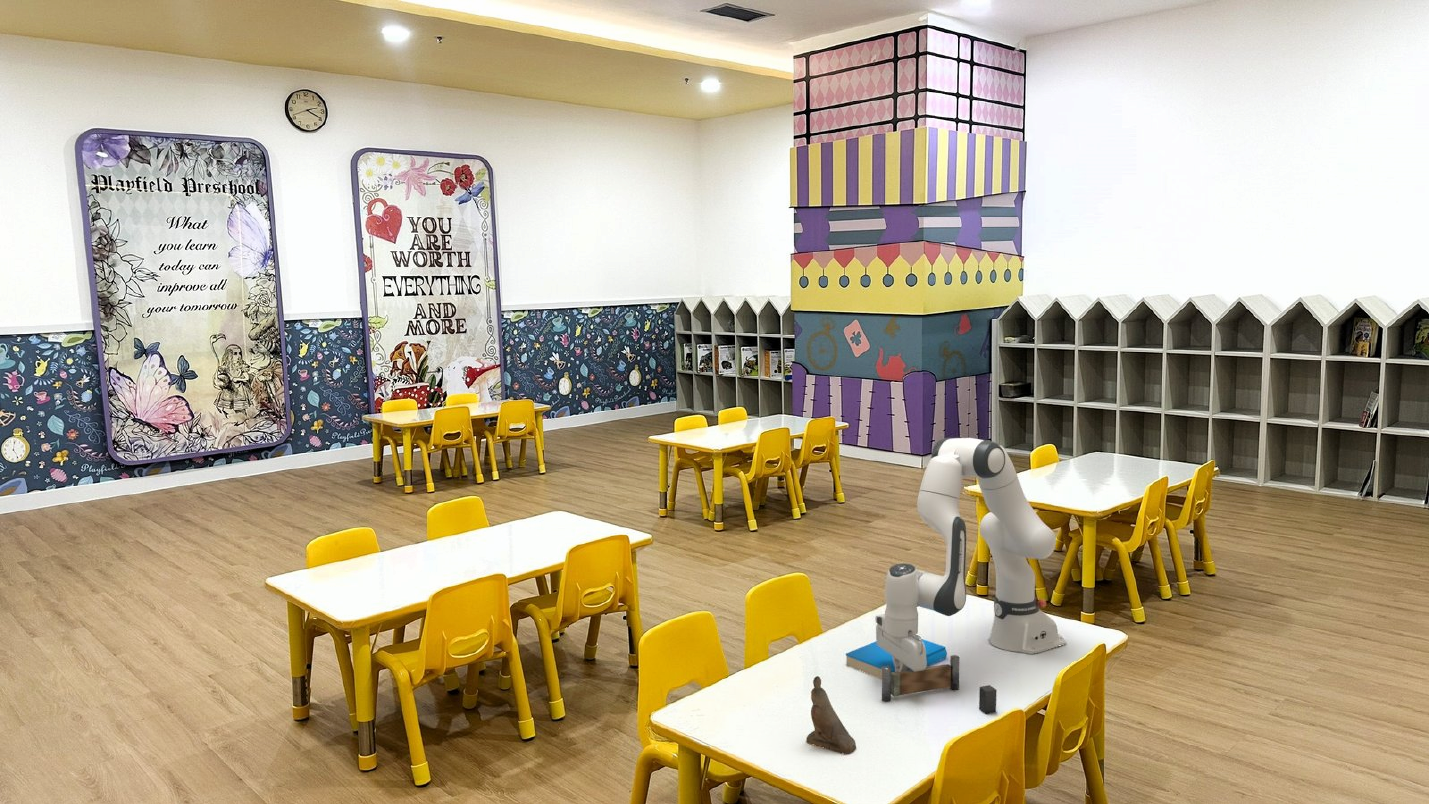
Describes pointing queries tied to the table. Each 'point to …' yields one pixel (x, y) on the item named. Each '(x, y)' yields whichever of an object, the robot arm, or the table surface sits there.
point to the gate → (920, 680)
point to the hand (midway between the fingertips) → (900, 674)
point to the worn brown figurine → (827, 724)
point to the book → (887, 658)
